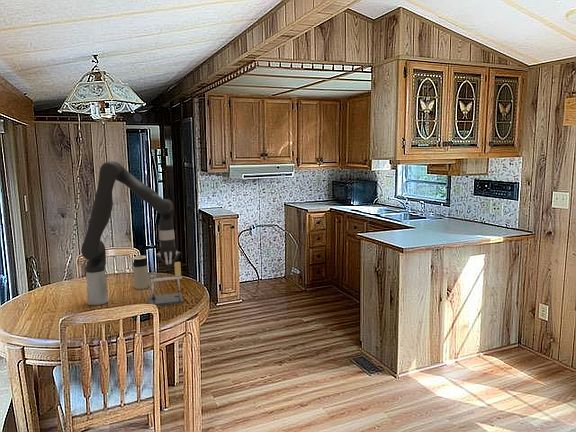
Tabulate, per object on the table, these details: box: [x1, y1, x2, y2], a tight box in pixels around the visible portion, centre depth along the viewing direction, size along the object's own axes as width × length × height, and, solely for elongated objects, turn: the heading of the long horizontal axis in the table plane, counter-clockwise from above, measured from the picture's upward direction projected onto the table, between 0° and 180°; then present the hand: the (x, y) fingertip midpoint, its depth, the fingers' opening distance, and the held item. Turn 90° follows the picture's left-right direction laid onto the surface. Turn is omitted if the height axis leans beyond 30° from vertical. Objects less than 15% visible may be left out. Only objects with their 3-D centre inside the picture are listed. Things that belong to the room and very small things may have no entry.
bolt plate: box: [147, 274, 184, 307], centre depth 232 cm, size 18×14×14 cm
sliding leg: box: [173, 261, 182, 295], centre depth 234 cm, size 3×4×18 cm
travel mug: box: [132, 255, 150, 290], centre depth 257 cm, size 8×8×18 cm
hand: (169, 270), depth 232 cm, fingers closed
